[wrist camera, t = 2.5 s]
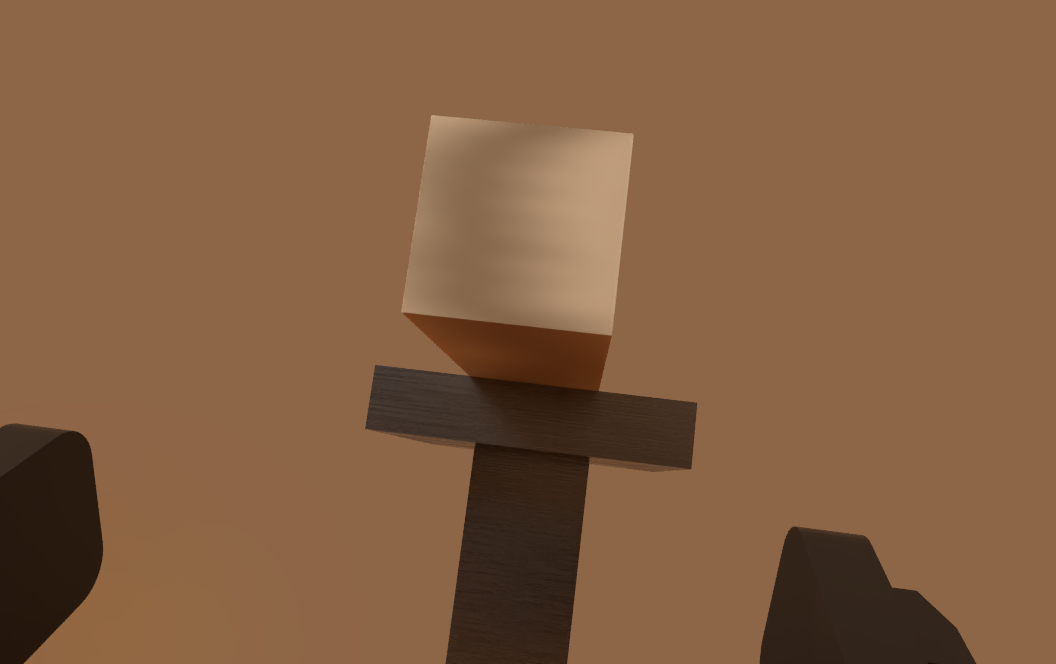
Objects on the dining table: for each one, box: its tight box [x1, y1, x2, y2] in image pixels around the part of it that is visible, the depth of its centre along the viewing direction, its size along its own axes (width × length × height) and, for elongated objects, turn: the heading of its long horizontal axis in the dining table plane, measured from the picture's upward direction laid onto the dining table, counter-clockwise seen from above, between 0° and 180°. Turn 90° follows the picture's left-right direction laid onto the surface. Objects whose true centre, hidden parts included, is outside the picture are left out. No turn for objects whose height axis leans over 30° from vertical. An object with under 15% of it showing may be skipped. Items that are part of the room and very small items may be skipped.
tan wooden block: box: [401, 115, 634, 391], centre depth 29 cm, size 4×26×8 cm, turn 176°
